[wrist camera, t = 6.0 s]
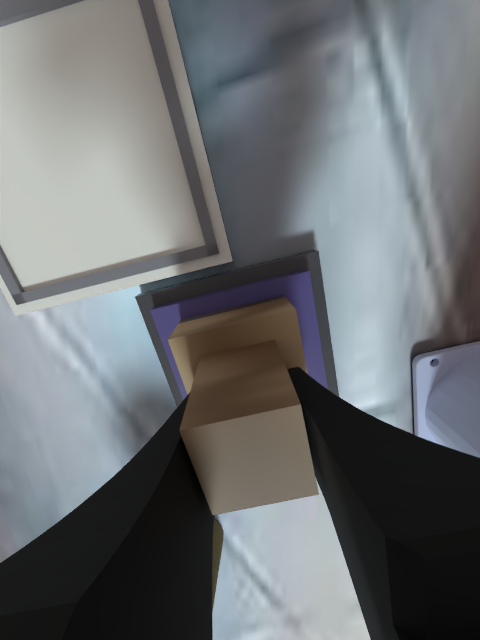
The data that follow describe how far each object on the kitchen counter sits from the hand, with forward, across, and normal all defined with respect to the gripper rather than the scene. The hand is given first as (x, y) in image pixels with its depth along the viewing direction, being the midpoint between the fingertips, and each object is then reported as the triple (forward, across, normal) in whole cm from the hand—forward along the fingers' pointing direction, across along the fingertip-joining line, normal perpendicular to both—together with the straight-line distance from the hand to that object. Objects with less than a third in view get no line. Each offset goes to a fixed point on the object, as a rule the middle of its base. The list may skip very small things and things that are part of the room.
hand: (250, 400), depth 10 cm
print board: (+4, +5, -10) cm, 12 cm away
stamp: (+3, 0, 0) cm, 3 cm away
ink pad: (+4, 0, 0) cm, 4 cm away
